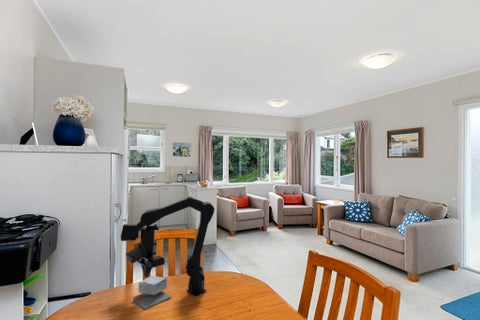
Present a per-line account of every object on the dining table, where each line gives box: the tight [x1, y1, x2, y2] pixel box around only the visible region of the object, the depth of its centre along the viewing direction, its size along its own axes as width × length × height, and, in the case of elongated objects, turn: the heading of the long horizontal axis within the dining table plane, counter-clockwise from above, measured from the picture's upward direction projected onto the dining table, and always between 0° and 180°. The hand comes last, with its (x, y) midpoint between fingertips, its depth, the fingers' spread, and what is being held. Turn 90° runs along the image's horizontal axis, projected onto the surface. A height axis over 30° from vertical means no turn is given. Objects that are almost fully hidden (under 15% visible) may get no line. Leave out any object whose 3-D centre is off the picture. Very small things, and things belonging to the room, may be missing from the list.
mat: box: [132, 290, 172, 311], centre depth 107 cm, size 12×9×2 cm
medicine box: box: [138, 275, 168, 295], centre depth 111 cm, size 8×4×9 cm
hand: (146, 277), depth 111 cm, fingers closed
